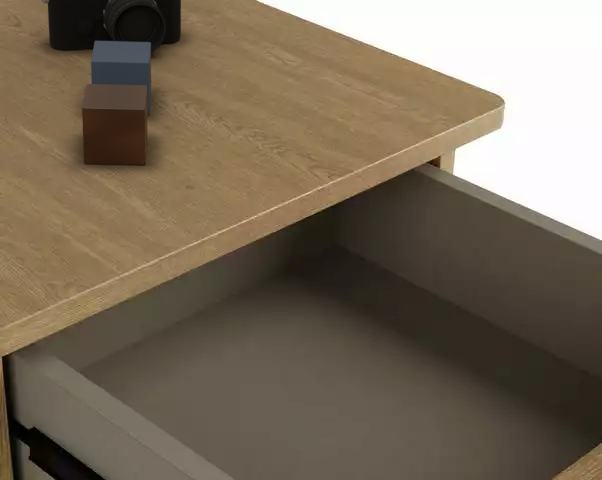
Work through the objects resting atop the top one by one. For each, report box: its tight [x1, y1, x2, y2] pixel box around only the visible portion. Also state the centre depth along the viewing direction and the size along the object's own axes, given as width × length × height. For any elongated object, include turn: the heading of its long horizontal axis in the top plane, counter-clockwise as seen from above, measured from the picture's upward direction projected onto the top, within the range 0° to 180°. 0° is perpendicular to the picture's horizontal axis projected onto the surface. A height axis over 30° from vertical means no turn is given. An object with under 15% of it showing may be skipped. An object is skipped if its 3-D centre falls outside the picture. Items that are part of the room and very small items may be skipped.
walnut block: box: [81, 83, 148, 166], centre depth 107 cm, size 5×5×5 cm
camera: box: [41, 0, 182, 53], centre depth 127 cm, size 14×7×8 cm, turn 109°
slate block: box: [90, 41, 152, 117], centre depth 116 cm, size 5×5×5 cm
